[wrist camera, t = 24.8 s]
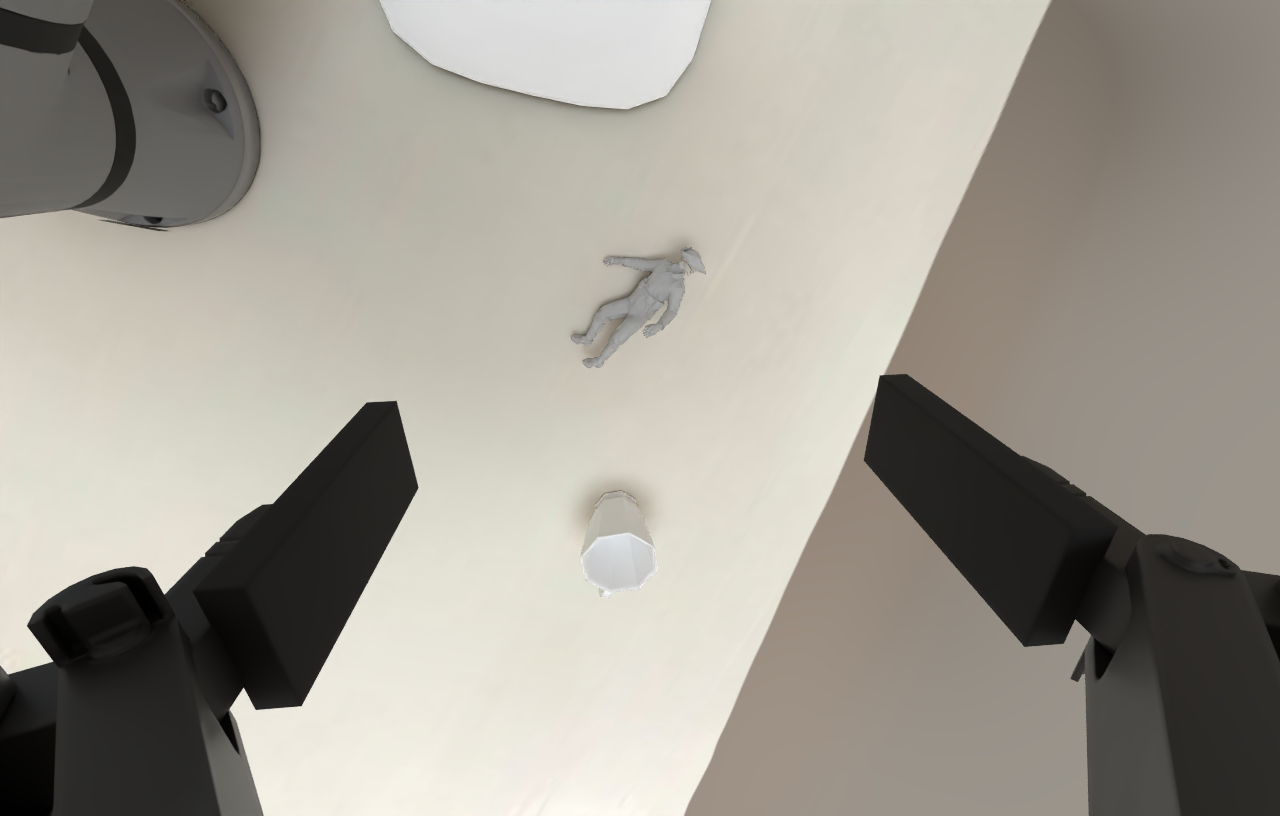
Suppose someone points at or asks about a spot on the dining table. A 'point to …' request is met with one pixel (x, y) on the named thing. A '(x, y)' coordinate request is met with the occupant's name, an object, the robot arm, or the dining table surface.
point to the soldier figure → (642, 301)
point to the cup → (617, 546)
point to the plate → (558, 44)
